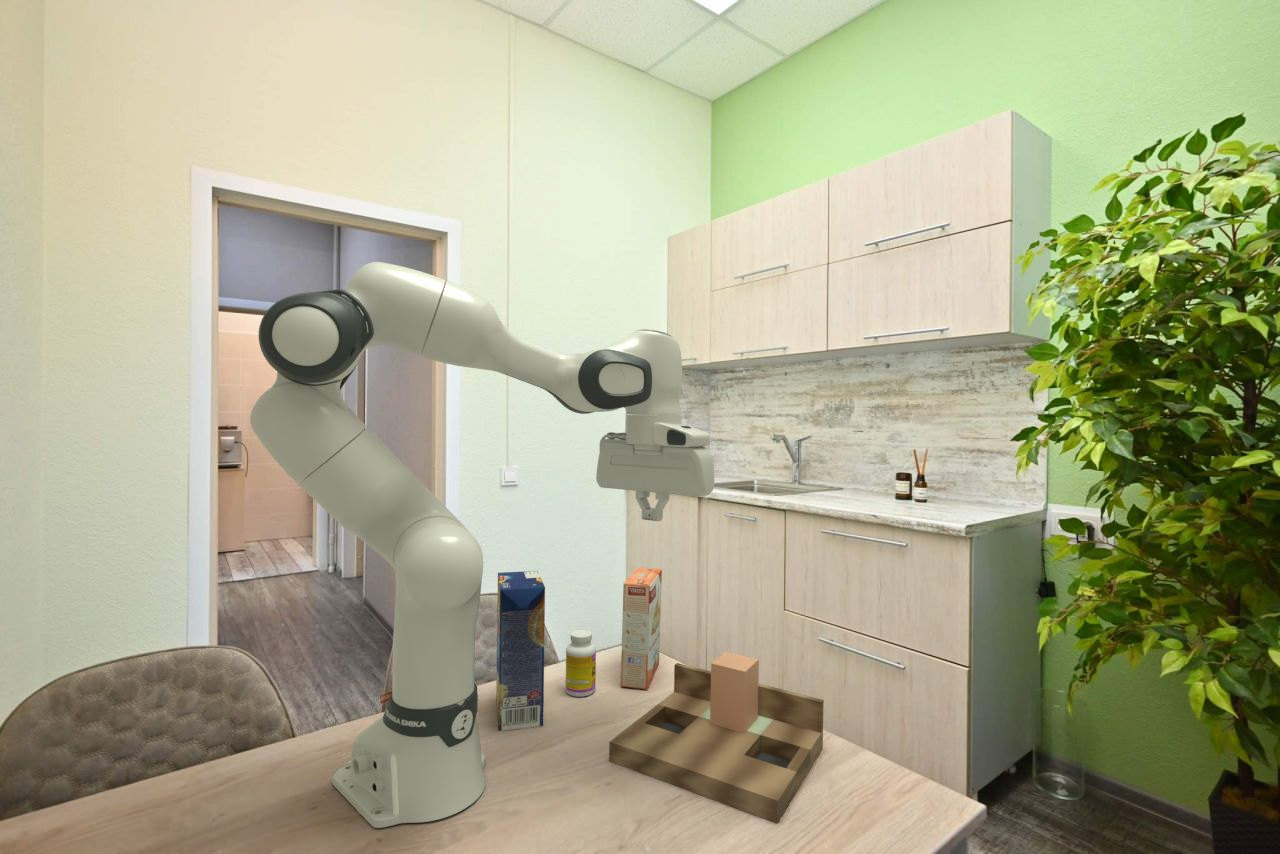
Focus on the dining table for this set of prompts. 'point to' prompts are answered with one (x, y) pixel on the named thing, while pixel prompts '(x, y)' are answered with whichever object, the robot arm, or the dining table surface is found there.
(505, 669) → the juice carton
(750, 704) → the terracotta block
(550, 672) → the dining table surface
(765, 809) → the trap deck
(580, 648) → the supplement bottle
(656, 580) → the cracker box
